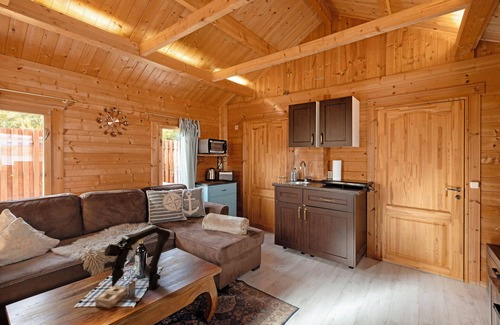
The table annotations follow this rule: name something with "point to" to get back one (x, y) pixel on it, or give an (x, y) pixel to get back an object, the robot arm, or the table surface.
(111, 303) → the bore block
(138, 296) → the table surface
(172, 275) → the table surface
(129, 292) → the peg
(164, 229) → the robot arm
